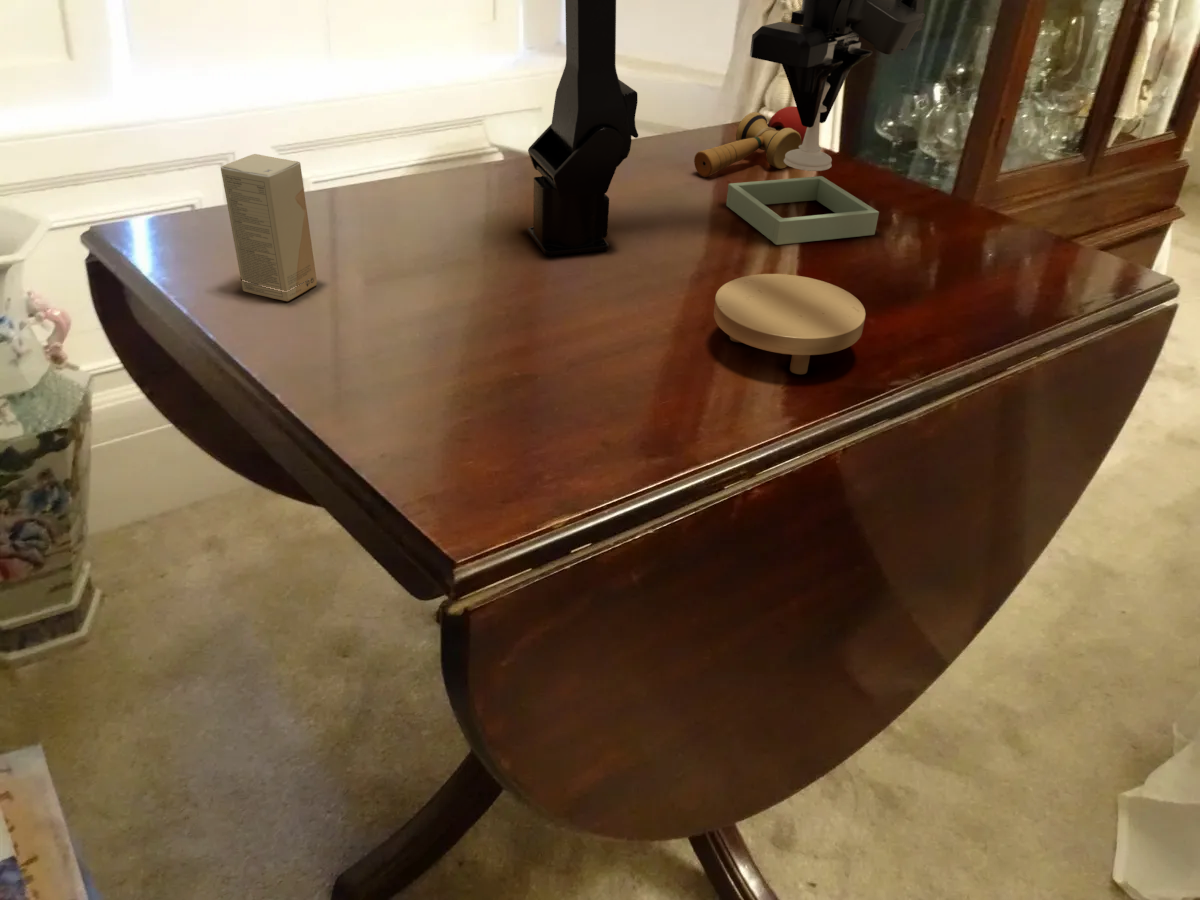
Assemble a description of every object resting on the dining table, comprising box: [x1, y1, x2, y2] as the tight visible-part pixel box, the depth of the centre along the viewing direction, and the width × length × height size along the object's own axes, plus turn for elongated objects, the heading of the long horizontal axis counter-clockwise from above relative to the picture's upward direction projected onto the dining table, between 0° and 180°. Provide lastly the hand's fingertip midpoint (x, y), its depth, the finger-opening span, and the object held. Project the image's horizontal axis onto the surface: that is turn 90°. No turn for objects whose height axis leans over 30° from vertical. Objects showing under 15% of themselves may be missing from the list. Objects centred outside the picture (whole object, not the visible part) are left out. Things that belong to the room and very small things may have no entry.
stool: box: [713, 273, 867, 375], centre depth 84 cm, size 12×12×4 cm
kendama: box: [693, 105, 807, 178], centre depth 124 cm, size 8×6×18 cm
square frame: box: [725, 175, 880, 246], centre depth 110 cm, size 12×12×2 cm
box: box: [220, 153, 318, 302], centre depth 88 cm, size 5×4×11 cm
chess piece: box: [784, 73, 833, 172], centre depth 104 cm, size 5×5×10 cm
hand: (813, 124), depth 105 cm, fingers closed on chess piece, 2 cm apart
